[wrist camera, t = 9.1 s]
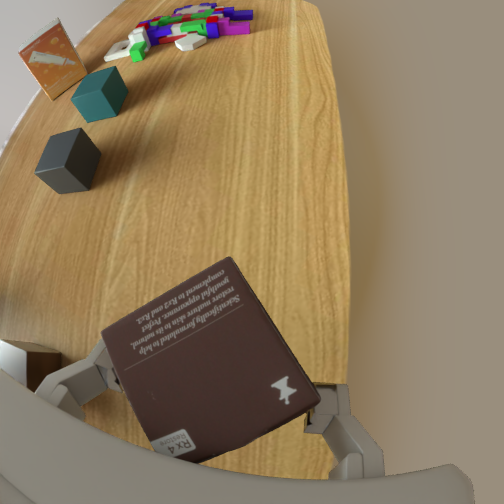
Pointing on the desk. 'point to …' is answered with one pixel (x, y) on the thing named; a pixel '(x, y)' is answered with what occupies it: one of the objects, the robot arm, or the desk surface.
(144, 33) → the building block set
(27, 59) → the small box
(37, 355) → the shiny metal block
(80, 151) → the slate block
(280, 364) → the box
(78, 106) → the teal block
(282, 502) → the robot arm
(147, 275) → the desk surface
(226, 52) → the desk surface
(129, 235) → the desk surface
